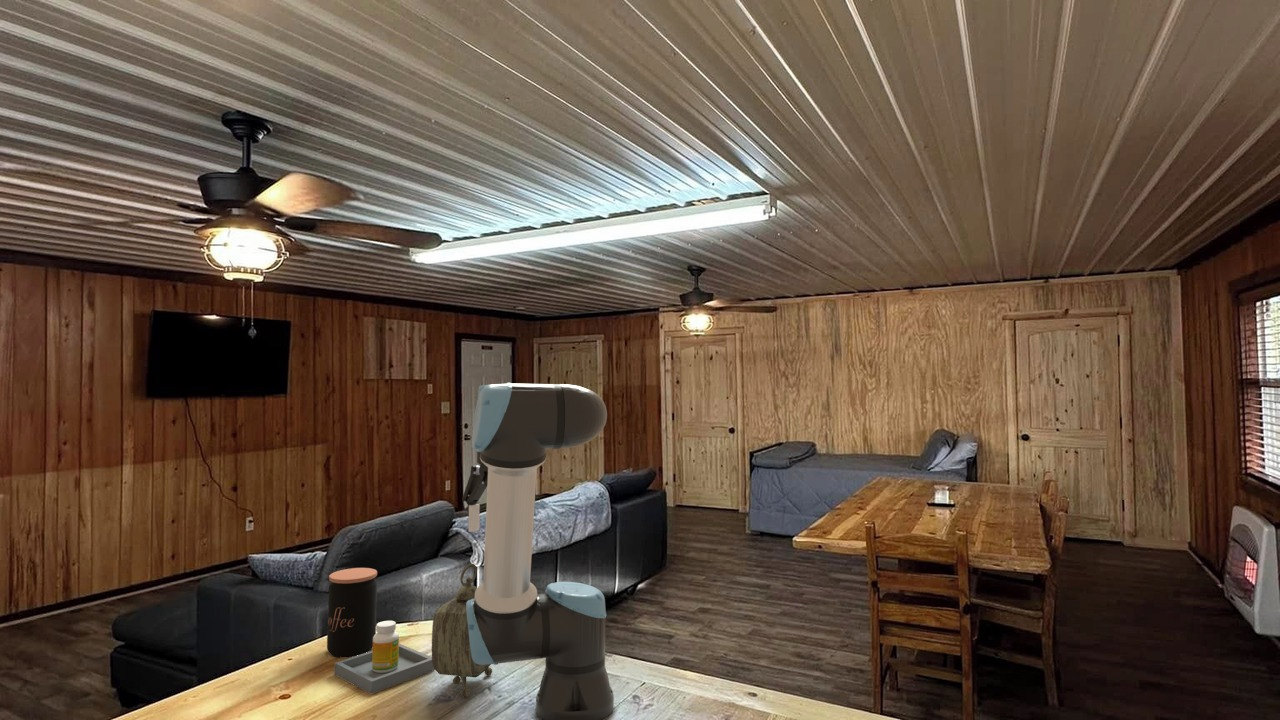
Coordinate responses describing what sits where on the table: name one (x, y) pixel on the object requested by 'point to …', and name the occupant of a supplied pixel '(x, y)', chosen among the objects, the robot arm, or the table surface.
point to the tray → (372, 682)
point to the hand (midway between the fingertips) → (491, 534)
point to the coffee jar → (351, 612)
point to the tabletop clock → (455, 637)
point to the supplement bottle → (385, 647)
